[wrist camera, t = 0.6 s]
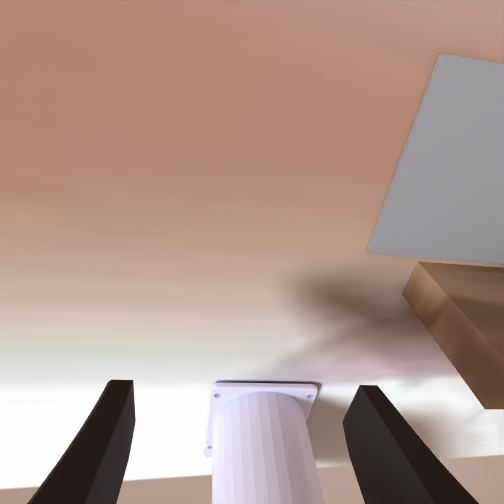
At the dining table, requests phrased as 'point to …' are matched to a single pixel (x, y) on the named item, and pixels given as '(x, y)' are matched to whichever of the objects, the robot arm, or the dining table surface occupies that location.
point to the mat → (450, 170)
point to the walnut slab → (465, 321)
